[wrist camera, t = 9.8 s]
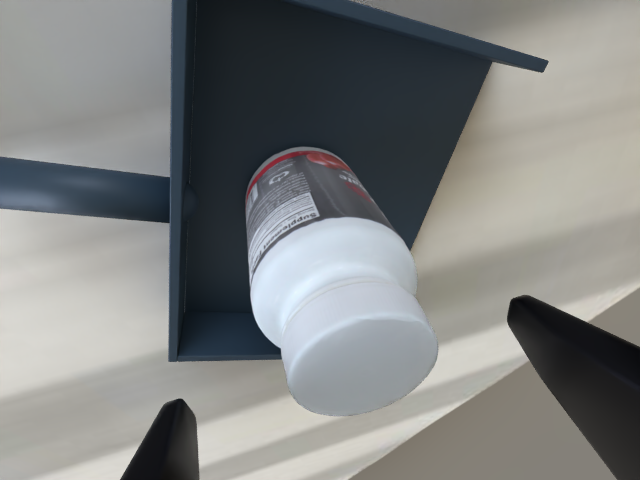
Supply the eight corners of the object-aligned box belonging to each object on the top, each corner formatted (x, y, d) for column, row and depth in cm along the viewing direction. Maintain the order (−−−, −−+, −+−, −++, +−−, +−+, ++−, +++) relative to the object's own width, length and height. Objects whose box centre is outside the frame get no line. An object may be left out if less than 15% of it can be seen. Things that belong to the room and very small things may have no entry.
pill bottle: (377, 191, 17) (500, 349, 9) (303, 261, 19) (356, 448, 11) (299, 116, 15) (381, 251, 7) (219, 205, 16) (208, 403, 8)
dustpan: (491, 50, 15) (549, 61, 12) (378, 315, 23) (398, 357, 20) (-86, -120, 9) (-217, -172, 7) (28, 308, 17) (-10, 366, 15)
